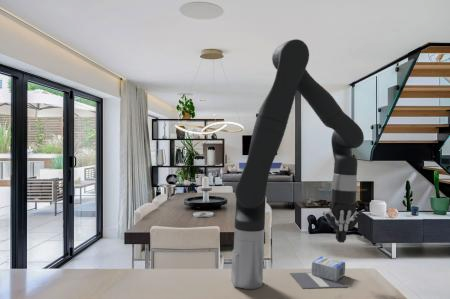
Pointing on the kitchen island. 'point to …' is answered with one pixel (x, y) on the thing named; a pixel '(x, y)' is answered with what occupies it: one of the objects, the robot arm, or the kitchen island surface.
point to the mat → (316, 281)
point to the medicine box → (328, 268)
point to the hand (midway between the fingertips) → (340, 241)
